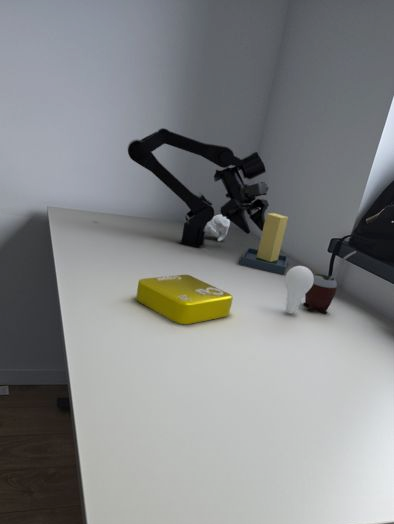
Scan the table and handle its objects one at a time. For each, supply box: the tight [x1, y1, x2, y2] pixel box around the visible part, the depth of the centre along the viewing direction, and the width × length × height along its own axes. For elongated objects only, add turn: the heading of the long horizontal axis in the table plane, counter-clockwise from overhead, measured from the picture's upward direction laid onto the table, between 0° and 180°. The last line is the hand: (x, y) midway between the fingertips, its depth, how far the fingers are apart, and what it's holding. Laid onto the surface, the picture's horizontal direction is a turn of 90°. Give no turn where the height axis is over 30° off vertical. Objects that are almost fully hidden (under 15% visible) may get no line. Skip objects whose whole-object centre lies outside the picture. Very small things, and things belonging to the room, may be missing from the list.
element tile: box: [135, 274, 233, 325], centre depth 101 cm, size 15×15×5 cm
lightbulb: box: [284, 265, 314, 315], centre depth 109 cm, size 6×6×11 cm
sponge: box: [256, 212, 289, 264], centre depth 147 cm, size 5×5×14 cm
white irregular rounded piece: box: [205, 214, 231, 242], centre depth 169 cm, size 6×8×12 cm
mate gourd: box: [303, 250, 357, 315], centre depth 114 cm, size 8×8×15 cm
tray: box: [239, 247, 289, 276], centre depth 149 cm, size 13×15×2 cm
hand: (257, 232), depth 149 cm, fingers open, 9 cm apart
